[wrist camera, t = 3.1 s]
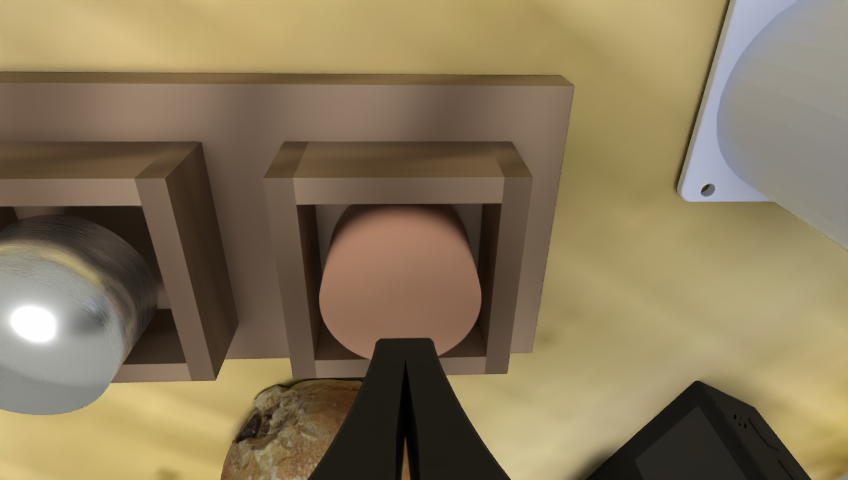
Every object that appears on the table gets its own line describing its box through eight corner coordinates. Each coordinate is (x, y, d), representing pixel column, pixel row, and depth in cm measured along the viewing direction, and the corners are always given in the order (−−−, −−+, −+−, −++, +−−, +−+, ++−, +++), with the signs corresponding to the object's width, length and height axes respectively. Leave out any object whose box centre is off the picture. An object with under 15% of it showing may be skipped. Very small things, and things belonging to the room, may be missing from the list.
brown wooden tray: (561, 75, 17) (609, 113, 13) (524, 329, 23) (550, 408, 19) (-91, 71, 16) (-243, 110, 12) (34, 339, 22) (-45, 424, 18)
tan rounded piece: (473, 187, 17) (487, 232, 14) (465, 305, 19) (475, 362, 17) (324, 188, 17) (311, 233, 14) (335, 307, 19) (325, 365, 16)
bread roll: (343, 305, 26) (246, 383, 19) (498, 441, 25) (458, 578, 18) (256, 419, 30) (146, 521, 23) (388, 541, 29) (318, 688, 22)
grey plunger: (135, 213, 15) (80, 270, 12) (173, 341, 17) (133, 412, 15) (-39, 214, 15) (-133, 273, 12) (24, 344, 17) (-44, 417, 14)
